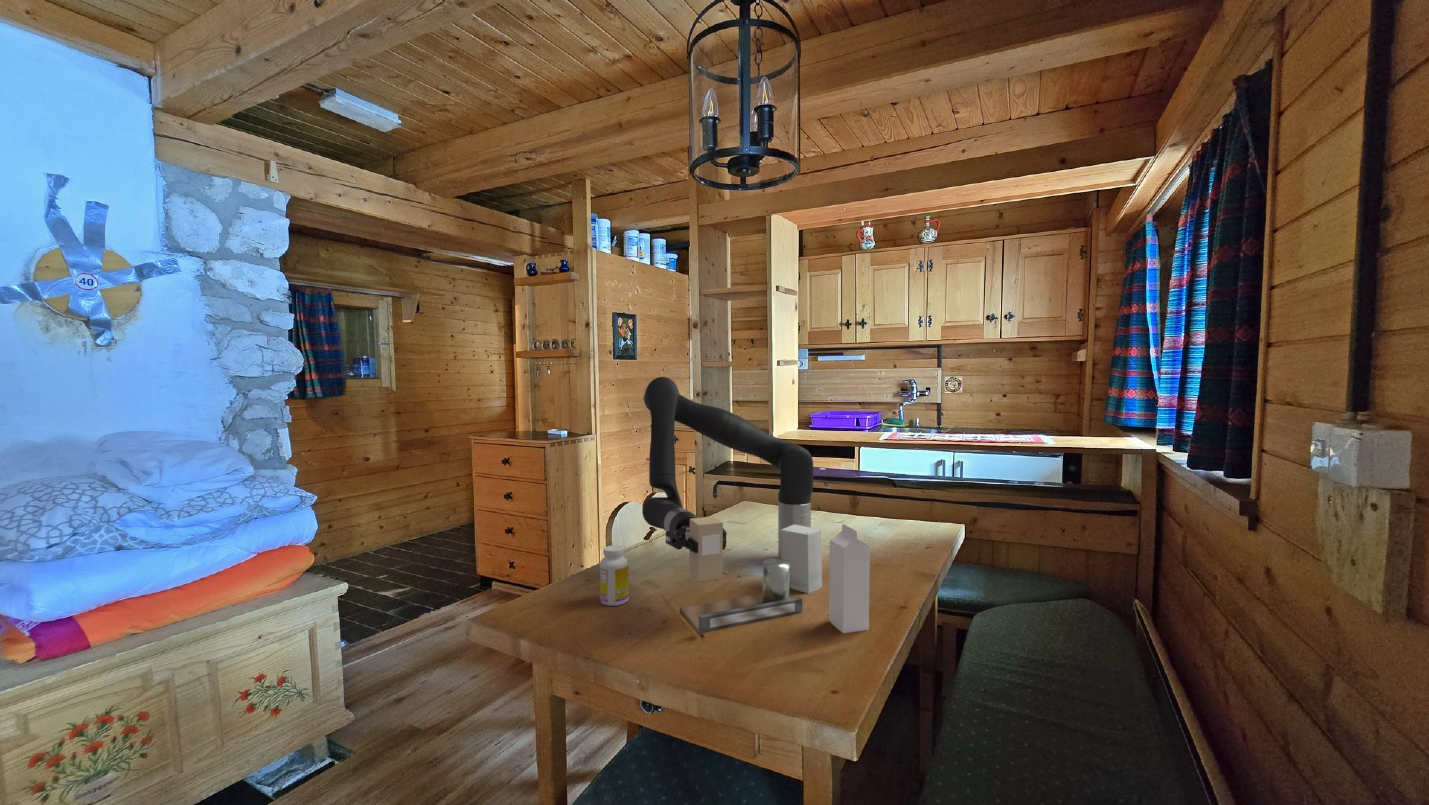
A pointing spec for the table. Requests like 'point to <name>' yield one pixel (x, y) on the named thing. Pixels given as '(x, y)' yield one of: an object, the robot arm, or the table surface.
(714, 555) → the kraft carton
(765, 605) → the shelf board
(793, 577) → the skincare box
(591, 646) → the table surface
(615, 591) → the supplement bottle
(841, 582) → the milk
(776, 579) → the oat tin
